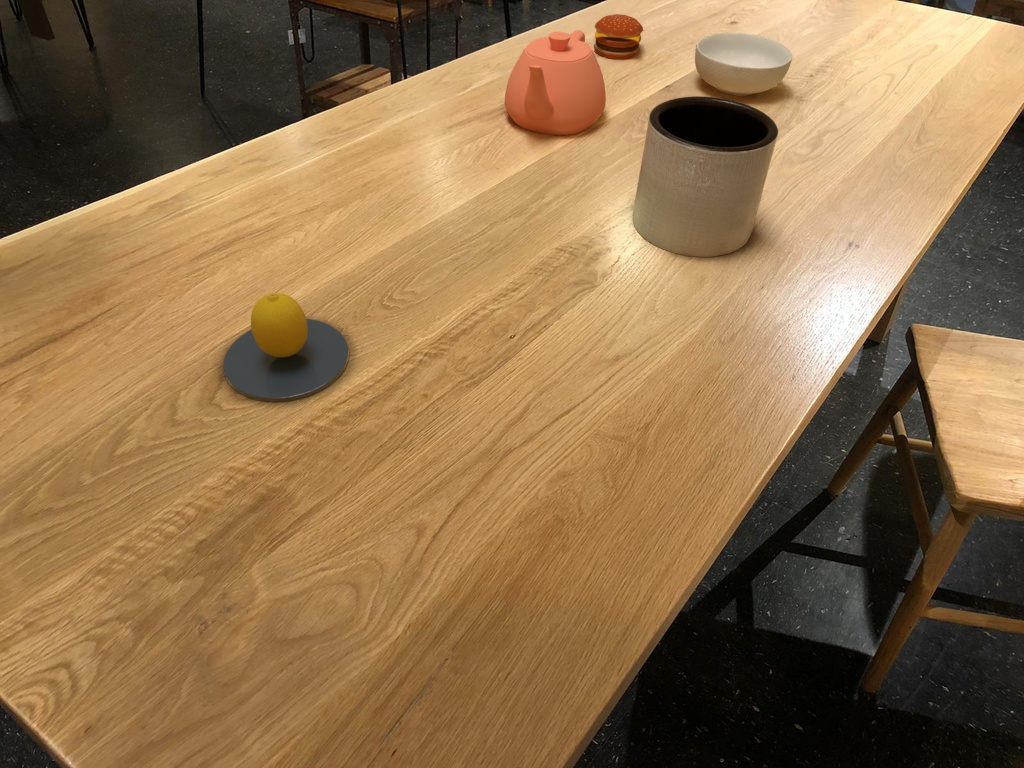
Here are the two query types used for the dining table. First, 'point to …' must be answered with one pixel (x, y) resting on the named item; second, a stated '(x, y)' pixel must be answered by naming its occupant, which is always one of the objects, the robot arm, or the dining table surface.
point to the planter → (702, 175)
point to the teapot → (556, 85)
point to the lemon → (279, 325)
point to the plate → (287, 366)
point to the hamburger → (617, 36)
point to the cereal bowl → (741, 62)
